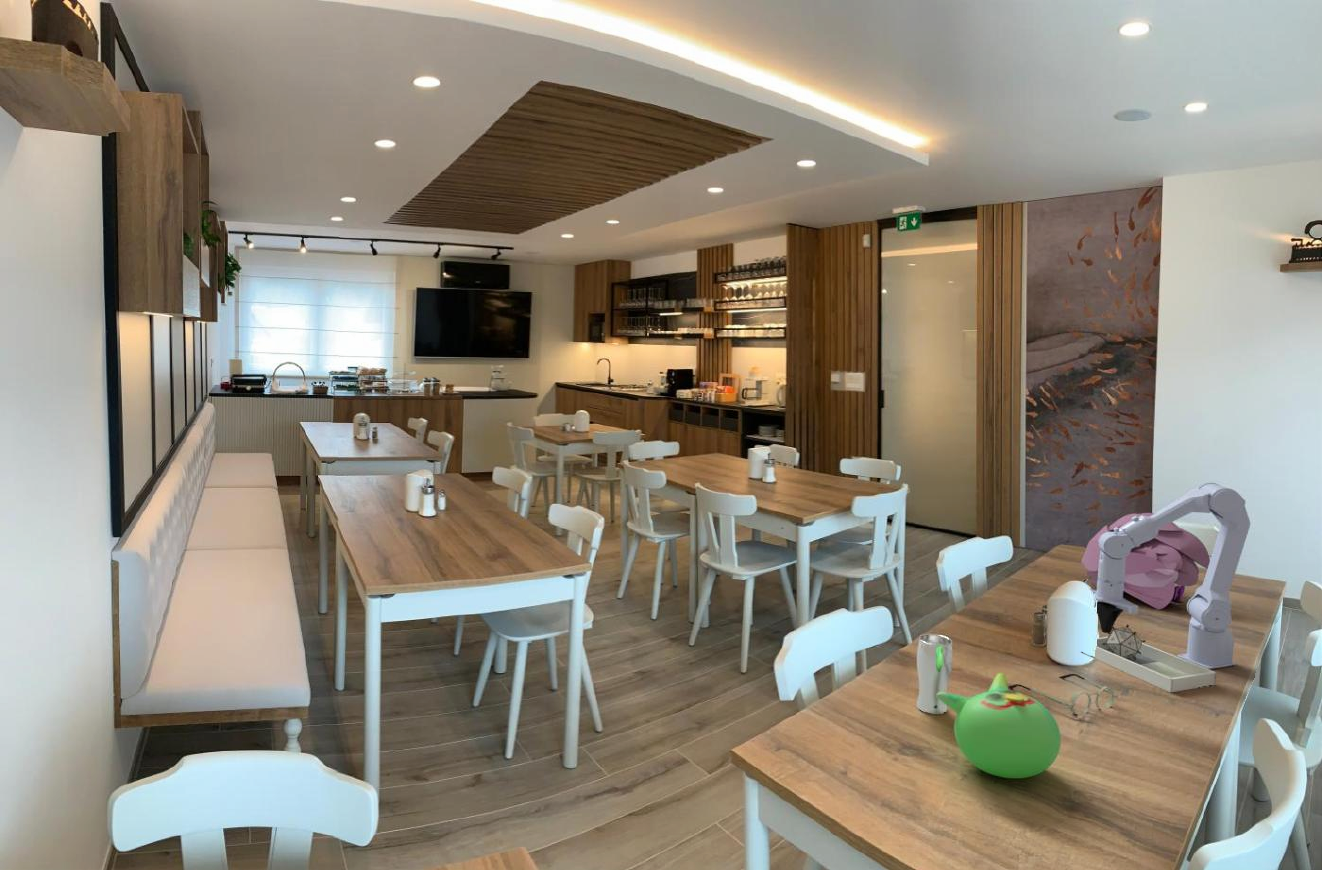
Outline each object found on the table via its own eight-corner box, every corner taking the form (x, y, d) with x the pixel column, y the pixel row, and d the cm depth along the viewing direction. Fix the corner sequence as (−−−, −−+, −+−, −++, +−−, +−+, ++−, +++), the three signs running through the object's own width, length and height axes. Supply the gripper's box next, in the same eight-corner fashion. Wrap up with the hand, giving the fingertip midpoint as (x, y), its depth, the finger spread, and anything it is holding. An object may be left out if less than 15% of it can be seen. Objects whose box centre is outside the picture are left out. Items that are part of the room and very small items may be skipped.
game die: (1129, 675, 183) (1155, 654, 177) (1095, 659, 185) (1120, 638, 178) (1127, 646, 190) (1152, 625, 183) (1094, 632, 191) (1117, 610, 185)
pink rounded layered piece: (1204, 618, 230) (1228, 530, 229) (1191, 621, 213) (1216, 526, 212) (1082, 581, 255) (1102, 502, 254) (1061, 582, 238) (1083, 496, 237)
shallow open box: (1121, 646, 193) (1122, 634, 192) (1215, 685, 170) (1216, 672, 170) (1079, 651, 188) (1080, 640, 188) (1170, 692, 166) (1171, 679, 165)
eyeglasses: (1064, 719, 153) (1065, 696, 152) (1005, 688, 167) (1006, 667, 166) (1121, 707, 159) (1123, 684, 159) (1060, 678, 173) (1062, 657, 173)
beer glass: (948, 703, 158) (952, 635, 157) (949, 718, 152) (954, 647, 150) (914, 698, 160) (917, 631, 159) (913, 712, 154) (917, 643, 152)
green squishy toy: (1003, 805, 122) (1008, 720, 121) (928, 755, 137) (932, 678, 136) (1078, 782, 129) (1085, 701, 128) (999, 736, 145) (1004, 664, 143)
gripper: (1074, 573, 193) (1070, 623, 194) (1124, 589, 179) (1119, 644, 181) (1095, 571, 195) (1091, 621, 197) (1146, 587, 181) (1141, 641, 183)
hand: (1106, 632), depth 189 cm, fingers closed
